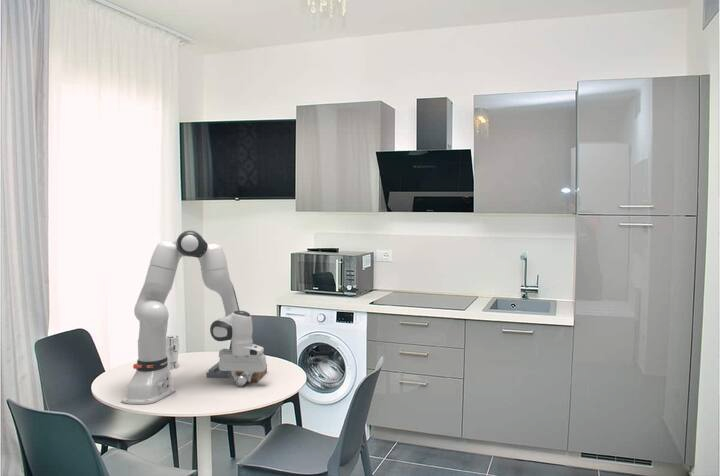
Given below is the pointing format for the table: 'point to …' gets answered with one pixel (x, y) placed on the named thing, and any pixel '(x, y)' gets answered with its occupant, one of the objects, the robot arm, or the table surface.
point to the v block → (217, 372)
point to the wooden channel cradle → (254, 375)
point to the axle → (242, 378)
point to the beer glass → (172, 351)
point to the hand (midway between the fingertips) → (242, 381)
